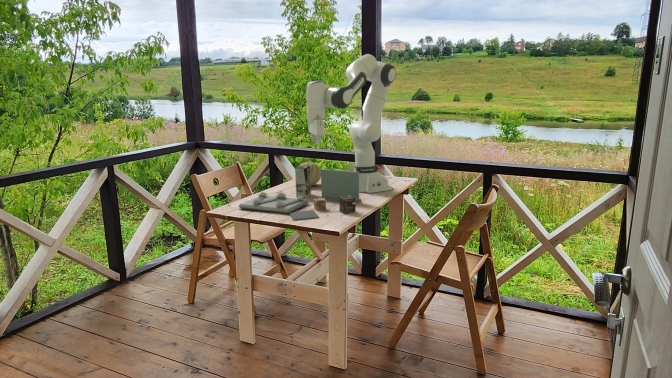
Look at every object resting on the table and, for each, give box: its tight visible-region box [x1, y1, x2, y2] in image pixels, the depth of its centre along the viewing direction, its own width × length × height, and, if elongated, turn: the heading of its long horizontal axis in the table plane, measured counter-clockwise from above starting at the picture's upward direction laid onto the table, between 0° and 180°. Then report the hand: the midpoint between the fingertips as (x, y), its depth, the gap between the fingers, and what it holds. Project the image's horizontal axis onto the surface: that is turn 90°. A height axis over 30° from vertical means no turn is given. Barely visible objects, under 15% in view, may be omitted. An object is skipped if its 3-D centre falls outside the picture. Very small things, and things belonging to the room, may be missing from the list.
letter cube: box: [313, 197, 327, 212], centre depth 239 cm, size 5×5×5 cm
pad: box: [288, 209, 320, 221], centre depth 229 cm, size 12×12×1 cm
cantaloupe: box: [299, 160, 321, 187], centre depth 291 cm, size 15×15×15 cm
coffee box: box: [294, 165, 312, 198], centre depth 267 cm, size 9×6×16 cm
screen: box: [319, 168, 362, 205], centre depth 254 cm, size 22×6×16 cm, turn 60°
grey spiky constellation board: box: [238, 190, 310, 214], centre depth 246 cm, size 30×22×7 cm
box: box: [338, 196, 356, 215], centre depth 233 cm, size 6×6×7 cm
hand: (316, 143), depth 236 cm, fingers open, 8 cm apart
